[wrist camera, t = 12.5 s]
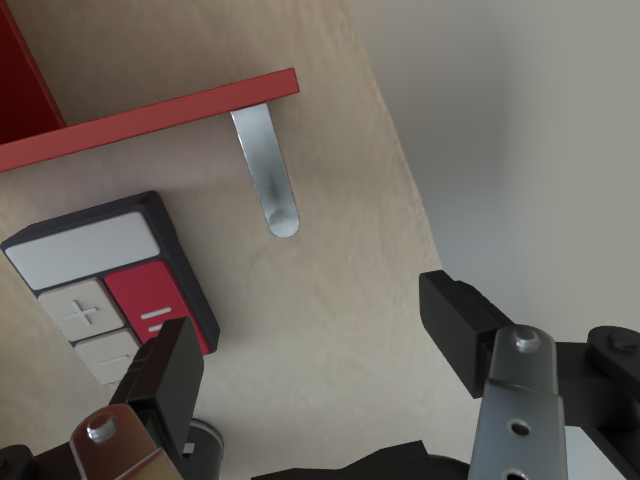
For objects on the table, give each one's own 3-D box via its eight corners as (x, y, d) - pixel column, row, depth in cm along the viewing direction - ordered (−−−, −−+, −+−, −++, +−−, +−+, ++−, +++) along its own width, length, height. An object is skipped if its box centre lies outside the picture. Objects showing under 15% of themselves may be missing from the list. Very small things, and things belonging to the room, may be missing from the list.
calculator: (97, 393, 31) (-13, 248, 25) (115, 359, 35) (24, 225, 29) (217, 357, 32) (140, 205, 25) (222, 327, 36) (156, 188, 29)
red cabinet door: (302, 174, 30) (340, 255, 14) (123, 223, 30) (-42, 364, 14) (278, 86, 28) (293, 66, 12) (81, 138, 27) (-185, 193, 11)
